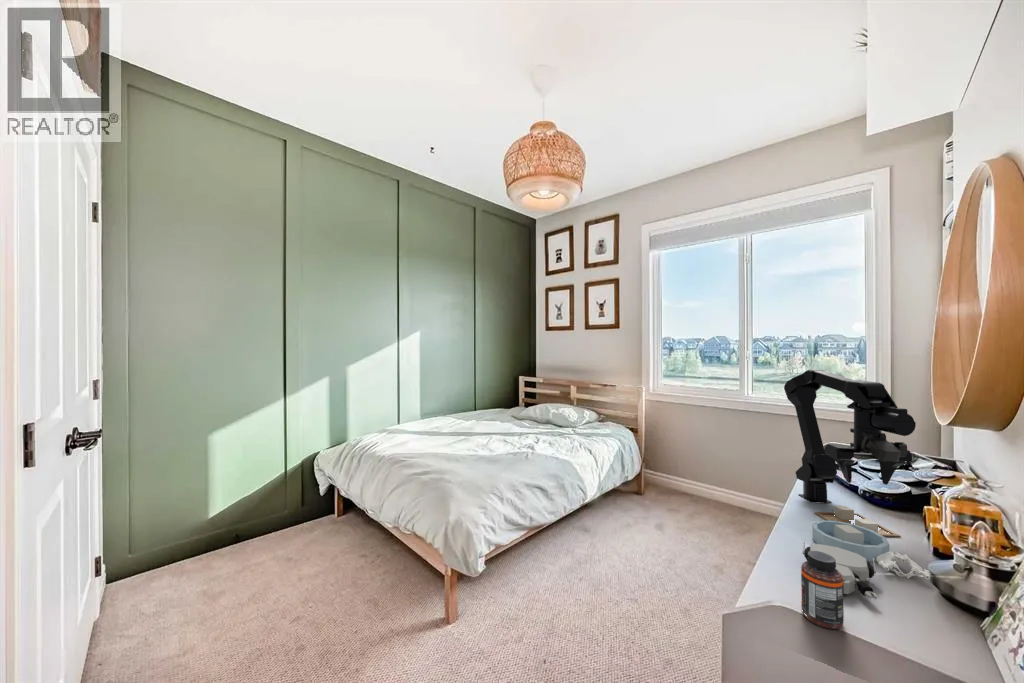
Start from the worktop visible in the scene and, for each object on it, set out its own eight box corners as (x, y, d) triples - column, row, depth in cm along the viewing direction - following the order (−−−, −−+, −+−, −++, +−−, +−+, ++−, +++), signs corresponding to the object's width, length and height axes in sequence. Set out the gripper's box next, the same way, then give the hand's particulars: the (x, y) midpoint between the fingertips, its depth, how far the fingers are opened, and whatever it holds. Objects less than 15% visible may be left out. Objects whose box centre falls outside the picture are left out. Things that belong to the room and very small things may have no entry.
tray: (814, 514, 116) (814, 511, 116) (857, 516, 115) (857, 513, 115) (851, 536, 102) (851, 533, 102) (900, 539, 101) (900, 535, 101)
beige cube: (834, 540, 99) (834, 524, 99) (849, 541, 98) (849, 525, 99) (847, 549, 94) (847, 532, 94) (863, 550, 94) (863, 533, 94)
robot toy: (881, 615, 73) (874, 574, 85) (881, 592, 73) (874, 553, 85) (800, 590, 81) (803, 555, 92) (799, 568, 81) (803, 536, 92)
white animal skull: (880, 558, 85) (873, 543, 90) (880, 577, 85) (873, 560, 90) (933, 569, 80) (921, 552, 86) (933, 589, 81) (921, 571, 86)
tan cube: (834, 515, 115) (834, 505, 115) (845, 515, 114) (845, 506, 114) (842, 519, 112) (842, 509, 112) (854, 520, 111) (854, 510, 111)
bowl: (800, 533, 104) (800, 519, 104) (856, 535, 103) (856, 521, 103) (840, 561, 90) (839, 545, 90) (905, 564, 89) (905, 548, 89)
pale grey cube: (854, 529, 106) (854, 518, 106) (868, 529, 105) (868, 519, 106) (863, 534, 103) (863, 523, 103) (877, 534, 102) (877, 524, 103)
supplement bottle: (802, 604, 75) (802, 544, 75) (843, 617, 71) (842, 554, 71) (800, 620, 70) (799, 556, 70) (844, 636, 66) (843, 568, 67)
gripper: (852, 432, 102) (851, 492, 102) (932, 435, 100) (931, 496, 100) (823, 423, 113) (823, 477, 113) (894, 426, 111) (894, 481, 111)
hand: (866, 483), depth 109 cm, fingers open, 9 cm apart
